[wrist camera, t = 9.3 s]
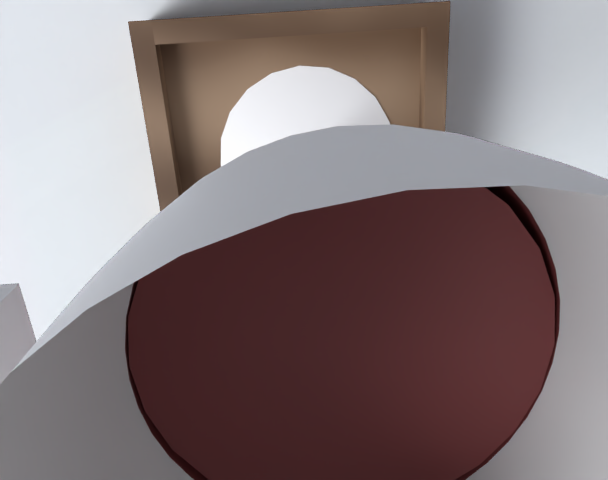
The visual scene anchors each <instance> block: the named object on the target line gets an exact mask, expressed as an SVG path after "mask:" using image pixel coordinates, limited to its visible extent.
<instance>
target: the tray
mask: <svg viewBox="0 0 608 480" xmlns="http://www.w3.org/2000/svg"><path fill="white" fill-rule="evenodd" d="M449 22H450V1H444V2H429V3H413V4H397V5H381V6H366V7H350V8H334V9H319V10H303V11H287V12H271V13H256V14H240V15H224V16H208V17H193V18H177V19H161V20H146V21H130V22H128V24H129V30H130V36H131V42H132V48H133V53H134V59H135V65H136V71H137V77H138V83H139V89H140V94H141V100H142V106H143V112H144V118H145V124H146V129H147V135H148V141H149V147H150V153H151V159H152V165H153V170H154V176H155V182H156V188H157V194H158V200H159V206H160V211H162V210H163V209H165V208H166V207H167V206H168V205H169V204H171V203H172V202H173V201H174V200H175V199H177V198H178V197H179V196H180V195H182V194H183V193H184V192H185V191H186V190H188V189H189V188H190V187H191V186H193V185H194V184H195V183H196V182H197V181H199V180H200V179H202V178H203V177H205V176H206V175H208V174H210V173H211V172H213V171H215V170H217V169H218V168H220V167H221V137H222V134H223V131H224V128H225V125H226V122H227V119H228V116H229V113H230V111H231V110H232V109H233V107H234V106H235V105H236V103H237V102H238V101H239V100H240V98H241V97H242V96H243V94H244V93H245V92H246V90H247V89H248V88H250V87H251V86H253V85H254V84H256V83H257V82H259V81H260V80H262V79H263V78H265V77H266V76H268V75H269V74H271V73H274V72H278V71H281V70H285V69H289V68H293V67H296V66H312V67H326V68H330V69H333V70H335V71H338V72H340V73H342V74H345V75H347V76H349V77H352V78H354V79H356V80H357V81H358V82H359V83H360V84H361V85H362V86H363V87H365V88H366V89H367V90H368V91H369V92H370V93H371V94H372V95H374V96H375V97H376V99H377V100H378V102H379V104H380V106H381V108H382V109H383V111H384V113H385V115H386V117H387V118H388V120H389V122H390V125H401V126H408V127H415V128H422V129H430V130H437V131H444V132H445V118H446V94H447V70H448V46H449Z"/></svg>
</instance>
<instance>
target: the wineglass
mask: <svg viewBox="0 0 608 480" xmlns="http://www.w3.org/2000/svg"><path fill="white" fill-rule="evenodd" d="M0 480H608V180H607V179H605V178H602V177H600V176H597V175H595V174H592V173H589V172H587V171H584V170H582V169H579V168H576V167H573V166H570V165H567V164H564V163H561V162H558V161H555V160H552V159H548V158H545V157H541V156H538V155H534V154H531V153H527V152H524V151H520V150H517V149H513V148H509V147H506V146H502V145H499V144H495V143H492V142H488V141H485V140H481V139H478V138H475V137H471V136H467V135H463V134H458V133H452V132H444V131H437V130H430V129H422V128H415V127H408V126H401V125H390V122H389V120H388V118H387V117H386V115H385V113H384V111H383V109H382V108H381V106H380V104H379V102H378V100H377V99H376V97H375V96H374V95H372V94H371V93H370V92H369V91H368V90H367V89H366V88H365V87H363V86H362V85H361V84H360V83H359V82H358V81H357V80H356V79H354V78H352V77H349V76H347V75H345V74H342V73H340V72H338V71H335V70H333V69H330V68H326V67H312V66H296V67H293V68H289V69H285V70H281V71H278V72H274V73H271V74H269V75H268V76H266V77H265V78H263V79H262V80H260V81H259V82H257V83H256V84H254V85H253V86H251V87H250V88H248V89H247V90H246V92H245V93H244V94H243V96H242V97H241V98H240V100H239V101H238V102H237V103H236V105H235V106H234V107H233V109H232V110H231V111H230V113H229V116H228V119H227V122H226V125H225V128H224V131H223V134H222V137H221V167H220V168H218V169H217V170H215V171H213V172H211V173H210V174H208V175H206V176H205V177H203V178H202V179H200V180H199V181H197V182H196V183H195V184H194V185H193V186H191V187H190V188H189V189H188V190H186V191H185V192H184V193H183V194H182V195H180V196H179V197H178V198H177V199H175V200H174V201H173V202H172V203H171V204H169V205H168V206H167V207H166V208H165V209H163V210H162V211H161V212H160V213H158V214H157V215H156V216H155V217H154V218H153V219H151V220H150V221H149V222H148V223H147V224H146V225H145V226H144V227H143V228H141V229H140V230H139V231H138V232H137V233H136V234H135V235H134V236H133V237H132V238H131V239H130V240H129V241H128V242H127V243H126V244H125V245H124V246H123V247H122V248H121V249H120V250H119V251H118V252H117V253H116V254H115V255H114V256H113V257H112V258H111V259H110V260H109V261H108V262H107V263H106V264H105V265H104V266H103V267H102V268H101V269H100V270H99V271H98V272H97V273H96V274H95V275H94V276H93V277H92V279H91V280H90V281H89V282H88V283H87V284H86V285H85V286H84V287H83V288H82V289H81V291H80V292H79V293H78V294H77V295H76V296H75V297H74V299H73V300H72V301H71V302H70V303H69V304H68V305H67V307H66V308H65V309H64V310H63V311H62V312H61V314H60V315H59V316H58V317H57V318H56V319H55V320H54V322H53V323H52V324H51V325H50V326H49V327H48V329H47V330H46V331H45V332H44V333H43V335H42V336H41V337H40V338H39V339H38V340H37V342H36V343H35V344H34V345H33V346H32V348H31V349H30V350H29V351H28V352H27V353H26V355H25V356H24V357H23V358H22V359H21V360H20V362H19V363H18V364H17V365H16V366H15V368H14V369H13V370H12V371H11V372H10V373H9V375H8V376H7V377H6V378H5V379H4V381H3V382H2V383H1V384H0Z"/></svg>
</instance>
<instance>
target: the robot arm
mask: <svg viewBox="0 0 608 480" xmlns="http://www.w3.org/2000/svg"><path fill="white" fill-rule="evenodd" d="M35 343H36V338H35V335H34V332H33V328H32V325H31V322H30V319H29V315H28V312H27V309H26V305H25V302H24V299H23V296H22V292H21V289H20V286H19V283H18V284H3V285H0V384H1V383H2V382H3V381H4V379H5V378H6V377H7V376H8V375H9V373H10V372H11V371H12V370H13V369H14V368H15V366H16V365H17V364H18V363H19V362H20V360H21V359H22V358H23V357H24V356H25V355H26V353H27V352H28V351H29V350H30V349H31V348H32V346H33V345H34V344H35Z"/></svg>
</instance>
